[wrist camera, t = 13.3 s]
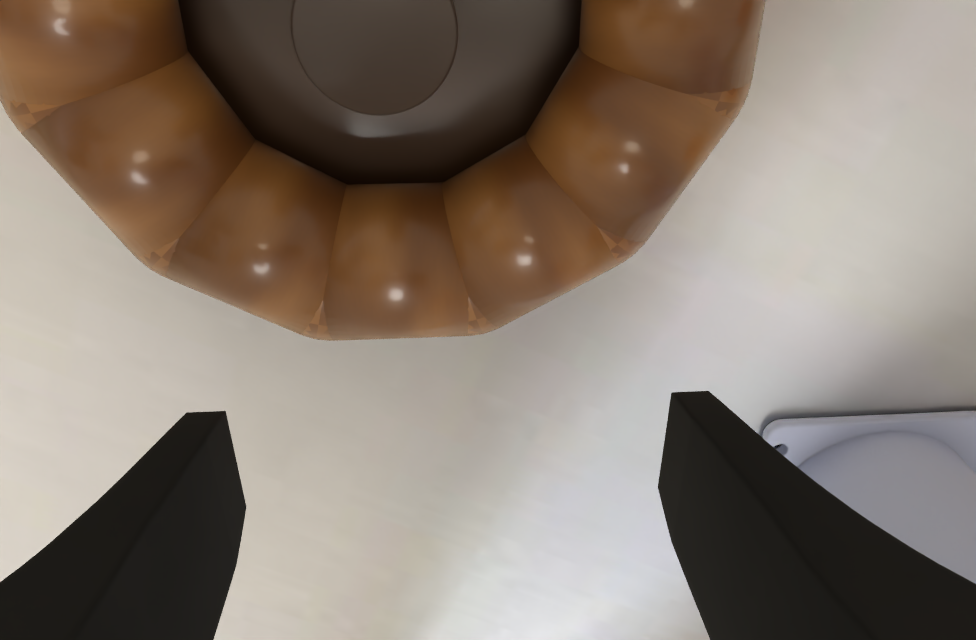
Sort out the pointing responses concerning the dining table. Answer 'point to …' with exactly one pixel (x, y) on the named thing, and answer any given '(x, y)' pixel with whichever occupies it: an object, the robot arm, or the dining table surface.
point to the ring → (376, 207)
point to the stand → (384, 77)
